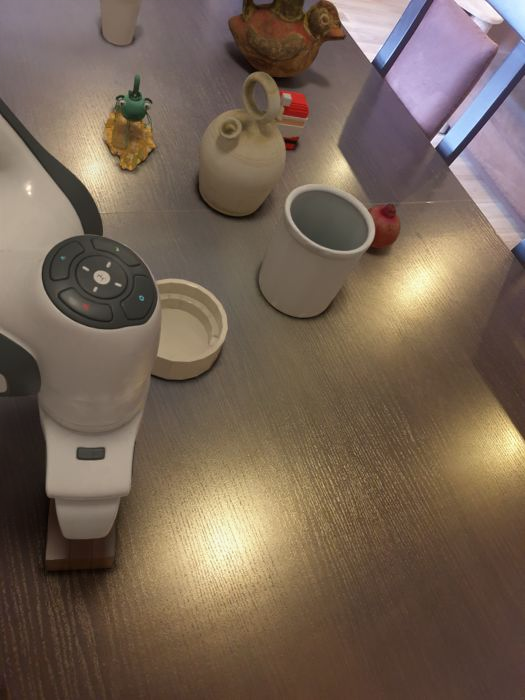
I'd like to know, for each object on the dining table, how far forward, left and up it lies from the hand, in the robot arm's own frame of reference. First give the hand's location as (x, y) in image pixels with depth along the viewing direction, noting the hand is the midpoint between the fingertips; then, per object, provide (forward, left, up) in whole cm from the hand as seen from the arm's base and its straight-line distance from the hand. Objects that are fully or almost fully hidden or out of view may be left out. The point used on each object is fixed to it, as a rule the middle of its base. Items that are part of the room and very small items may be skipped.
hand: (89, 453), depth 59 cm
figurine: (+36, +78, -16) cm, 87 cm away
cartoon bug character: (+5, +70, -16) cm, 72 cm away
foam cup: (+2, +103, -16) cm, 104 cm away
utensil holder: (+34, +38, -16) cm, 53 cm away
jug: (+24, +59, -16) cm, 65 cm away
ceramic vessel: (+38, +103, -16) cm, 110 cm away
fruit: (+52, +51, -16) cm, 74 cm away
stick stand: (0, -2, -16) cm, 16 cm away
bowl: (+12, +25, -16) cm, 31 cm away
